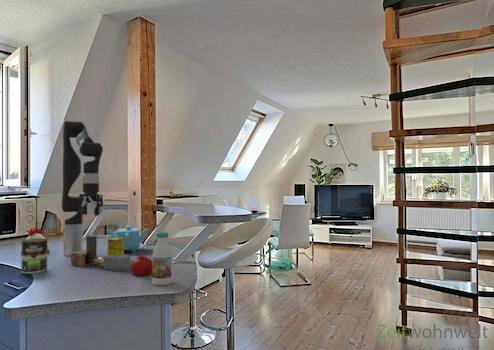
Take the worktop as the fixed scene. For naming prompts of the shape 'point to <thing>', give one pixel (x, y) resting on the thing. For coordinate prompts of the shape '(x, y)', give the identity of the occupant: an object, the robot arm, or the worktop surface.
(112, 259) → the sleeve
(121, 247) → the supplement box
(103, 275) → the worktop surface
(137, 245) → the teakettle
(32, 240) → the coffee can
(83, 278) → the worktop surface
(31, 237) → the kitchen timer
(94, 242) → the rod
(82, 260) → the socket block
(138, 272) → the pomegranate
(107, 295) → the worktop surface
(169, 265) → the milk bottle
